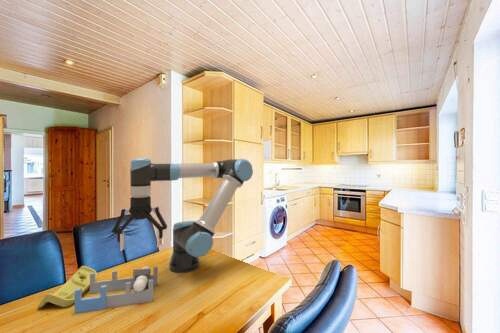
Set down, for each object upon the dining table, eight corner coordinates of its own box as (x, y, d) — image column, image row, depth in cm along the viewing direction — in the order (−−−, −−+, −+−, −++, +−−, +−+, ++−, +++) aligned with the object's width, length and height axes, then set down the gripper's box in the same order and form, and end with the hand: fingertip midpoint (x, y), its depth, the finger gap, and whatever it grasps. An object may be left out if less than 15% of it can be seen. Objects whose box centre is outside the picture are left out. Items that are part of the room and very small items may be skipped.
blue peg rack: (157, 284, 97) (157, 266, 97) (152, 301, 84) (152, 281, 84) (90, 292, 90) (91, 273, 90) (74, 313, 77) (74, 290, 77)
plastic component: (71, 302, 80) (43, 292, 79) (62, 319, 80) (34, 310, 79) (101, 272, 100) (80, 264, 99) (94, 286, 100) (72, 278, 99)
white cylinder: (140, 275, 97) (140, 264, 97) (152, 273, 98) (152, 263, 98) (131, 295, 81) (131, 282, 81) (145, 293, 83) (145, 280, 83)
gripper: (173, 194, 97) (173, 242, 97) (109, 196, 90) (109, 247, 90) (172, 196, 90) (172, 248, 90) (102, 198, 83) (102, 254, 83)
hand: (140, 247), depth 90 cm, fingers open, 13 cm apart
